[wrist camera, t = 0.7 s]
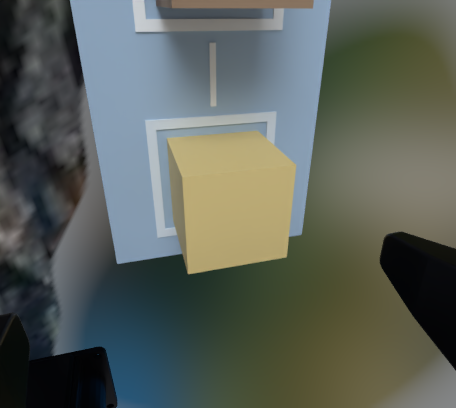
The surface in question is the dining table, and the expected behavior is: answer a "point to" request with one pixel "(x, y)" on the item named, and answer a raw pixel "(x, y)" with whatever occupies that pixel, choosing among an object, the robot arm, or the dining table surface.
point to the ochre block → (230, 199)
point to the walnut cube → (236, 4)
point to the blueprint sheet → (192, 98)
